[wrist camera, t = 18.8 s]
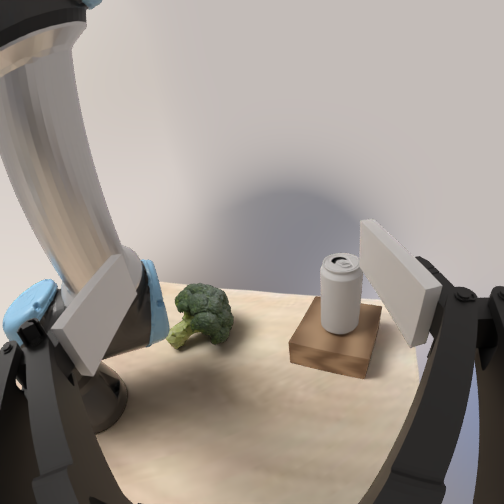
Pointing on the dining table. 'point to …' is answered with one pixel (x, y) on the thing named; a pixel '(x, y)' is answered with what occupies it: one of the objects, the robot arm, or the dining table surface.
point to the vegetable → (201, 314)
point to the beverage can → (340, 292)
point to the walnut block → (335, 342)
